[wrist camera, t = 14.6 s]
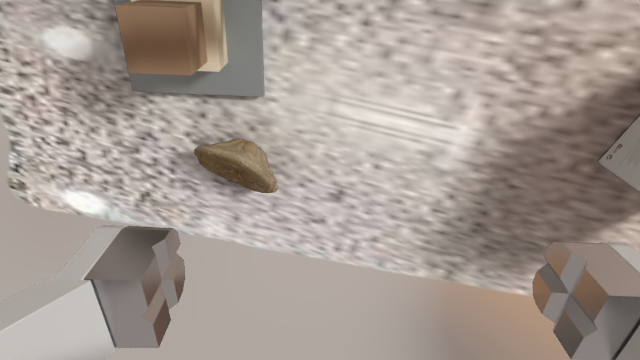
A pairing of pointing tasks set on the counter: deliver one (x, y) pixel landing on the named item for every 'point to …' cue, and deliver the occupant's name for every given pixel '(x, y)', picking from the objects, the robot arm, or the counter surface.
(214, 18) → the maple base
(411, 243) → the counter surface
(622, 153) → the supplement box
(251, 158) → the fossil
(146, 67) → the walnut cube
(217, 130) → the counter surface
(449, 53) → the counter surface
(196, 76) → the build plate
